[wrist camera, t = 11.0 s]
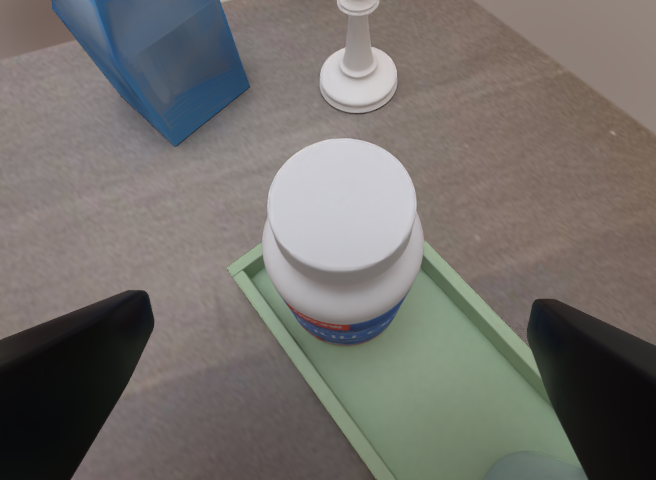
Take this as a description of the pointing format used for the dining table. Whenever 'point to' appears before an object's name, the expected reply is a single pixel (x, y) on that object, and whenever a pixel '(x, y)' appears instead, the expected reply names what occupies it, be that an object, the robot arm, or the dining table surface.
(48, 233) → the dining table surface
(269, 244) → the pill bottle
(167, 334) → the dining table surface
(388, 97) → the chess piece
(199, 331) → the dining table surface
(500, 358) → the tray
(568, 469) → the middle blue bottle
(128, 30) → the perfume bottle
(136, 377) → the dining table surface
